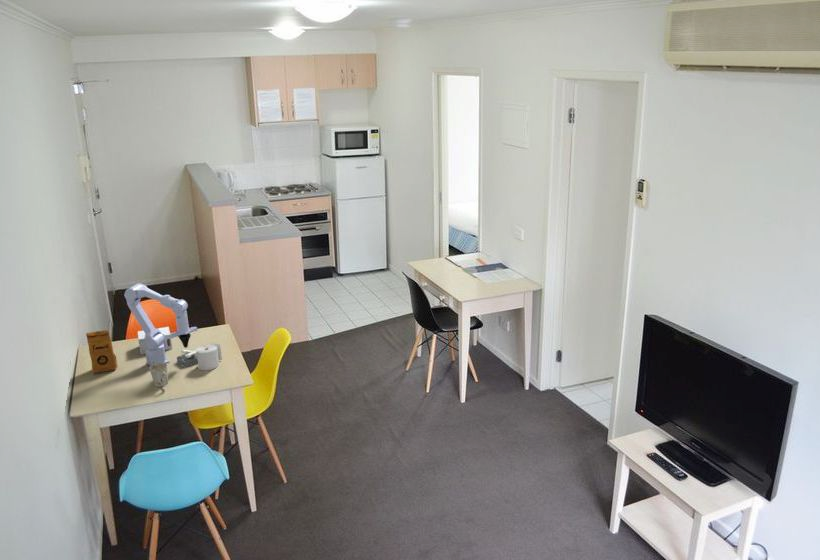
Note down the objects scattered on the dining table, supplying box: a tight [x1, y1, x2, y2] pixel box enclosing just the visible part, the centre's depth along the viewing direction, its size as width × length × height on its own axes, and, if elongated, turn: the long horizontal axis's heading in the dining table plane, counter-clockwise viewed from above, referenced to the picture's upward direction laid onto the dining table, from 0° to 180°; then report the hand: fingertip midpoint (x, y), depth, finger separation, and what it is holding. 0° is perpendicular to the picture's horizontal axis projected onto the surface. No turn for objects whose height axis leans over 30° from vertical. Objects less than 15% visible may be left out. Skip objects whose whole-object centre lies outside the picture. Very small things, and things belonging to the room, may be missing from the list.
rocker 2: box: [185, 350, 196, 358], centre depth 351 cm, size 6×3×1 cm, turn 133°
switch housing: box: [176, 352, 198, 368], centre depth 353 cm, size 11×9×5 cm
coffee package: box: [85, 329, 118, 374], centre depth 343 cm, size 10×12×22 cm
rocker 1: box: [181, 349, 193, 354], centre depth 354 cm, size 6×3×1 cm, turn 134°
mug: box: [149, 363, 170, 388], centre depth 326 cm, size 8×13×10 cm, turn 51°
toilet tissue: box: [195, 343, 223, 371], centre depth 347 cm, size 11×12×10 cm
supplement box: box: [137, 326, 173, 355], centre depth 371 cm, size 17×13×9 cm
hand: (185, 346), depth 348 cm, fingers closed
